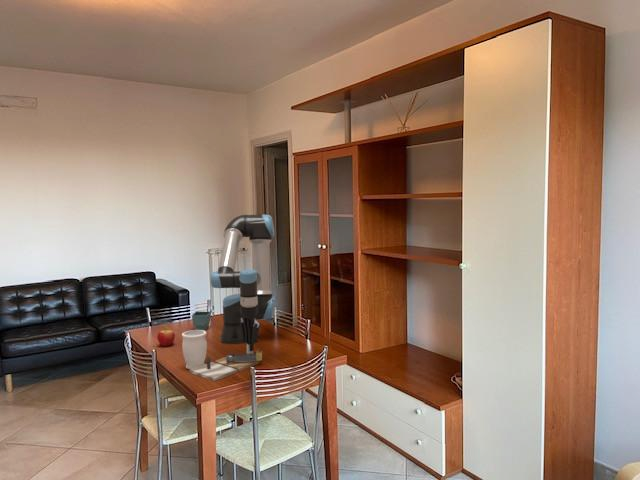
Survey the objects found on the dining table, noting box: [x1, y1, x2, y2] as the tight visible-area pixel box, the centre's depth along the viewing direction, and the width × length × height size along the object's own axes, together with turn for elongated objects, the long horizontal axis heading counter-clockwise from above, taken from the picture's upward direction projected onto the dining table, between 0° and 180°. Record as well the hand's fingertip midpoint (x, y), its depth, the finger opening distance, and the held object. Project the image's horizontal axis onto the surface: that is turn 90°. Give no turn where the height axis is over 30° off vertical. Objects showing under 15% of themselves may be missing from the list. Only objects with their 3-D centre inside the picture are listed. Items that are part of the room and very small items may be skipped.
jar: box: [181, 329, 208, 370], centre depth 210 cm, size 11×10×15 cm
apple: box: [156, 326, 176, 347], centre depth 240 cm, size 8×8×10 cm
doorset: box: [189, 356, 260, 382], centre depth 207 cm, size 16×25×6 cm, turn 142°
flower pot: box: [191, 311, 212, 331], centre depth 270 cm, size 9×9×9 cm
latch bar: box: [225, 349, 263, 362], centre depth 210 cm, size 16×4×4 cm, turn 95°
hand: (250, 357), depth 213 cm, fingers closed
